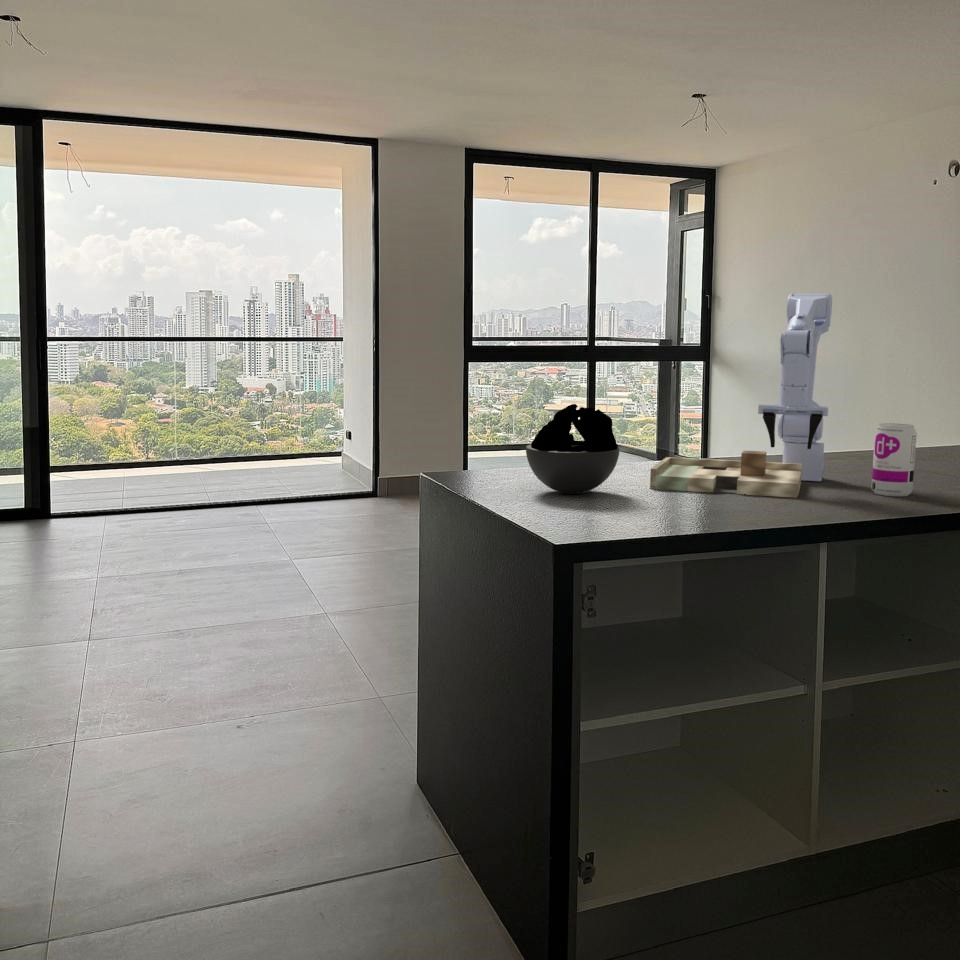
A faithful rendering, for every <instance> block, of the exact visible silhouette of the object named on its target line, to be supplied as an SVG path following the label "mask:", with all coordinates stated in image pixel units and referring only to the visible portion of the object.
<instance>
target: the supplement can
mask: <svg viewBox="0 0 960 960" xmlns="http://www.w3.org/2000/svg"><path fill="white" fill-rule="evenodd" d="M917 437H918V432H917V430H916V429H915V425H914V424H909V423H908V424H907V423H895V422H894V423H891V422H890V423H887V422H886V423H879V424H878V426H877V428H876V430H875V431H874V442H873V444H874V445H873V457H872V460H873V461H872V472H871V473H872V474H871V485H870V486H871V491H873V493H874V494H876V495H879V496H886V497H909V496H910V494H912V493H913V487H914V476H915V462H916V461H915V460H916V448H917V446H916V445H917Z"/></svg>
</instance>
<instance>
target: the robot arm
mask: <svg viewBox="0 0 960 960" xmlns="http://www.w3.org/2000/svg"><path fill="white" fill-rule="evenodd" d="M832 311H833V296H832V294H831V293H830V292H827V293H793V292H791V293H790V294H789V295H788V297H787V302H786V317H787V327H786V330H785V332H781V333H780V337H779V338H780V340H779V354H780V365H781V368H780V370H781V371H780V373H781V374H780V388H779V389H780V392H779V404H758V405H757V406H758V409H757V414H758V415H759V414H760V415H762V419H763V422H764V424H765V426H766V429H767V432H768V436H769V440H770V441H769V442H770V448H775V446H776V445H775V444H776V438H775V437H776V434H775V433H776V418H777V415H779V416H778V420H777V421H778V422H777V436H778V437H779V439H781V440H782V442H783V447H782V463H796V464H802V472H801V481H803V482H804V481H806V482H823V481H822V480H823V475H824V474H825V466H824V455H825V454H824V453H825V452H824V450H825V449H824V448H825V443H824V442H817V441H820V440H821V439H822V438H823V430H824V429H823V427H824V417H828V416H829V406H821V405H820V404H818V402H815V401H814V400H813V398H814V397H813V394H814V386H815V376H816V375H815V374H816V364H817V352H818V345H819V341H820V338H821V336H822V335H823V334H825V333H827V332H829V330H830V329H829V328H830V326H831V318H832Z"/></svg>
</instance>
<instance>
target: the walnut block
mask: <svg viewBox="0 0 960 960" xmlns="http://www.w3.org/2000/svg"><path fill="white" fill-rule="evenodd" d="M740 458H741V459H740V461H741V475H742V476H760V477H764V475H765V471H766V462H767V451H764V450H763V451H759V450H742V452H741V456H740Z"/></svg>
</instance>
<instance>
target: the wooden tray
mask: <svg viewBox="0 0 960 960" xmlns="http://www.w3.org/2000/svg"><path fill="white" fill-rule="evenodd" d="M801 472H802V464H796V463H783V462H772V461H766V471H765V475H764V477H760V476H742V475H741V460H734V459H730V460H729V459H711V458H690V457H673V456H672V457H671V456H670V457H669V456H665V457H664V458H662V460H660V461H659V462H658V463H656V464H655V465H654V466H652V467H651V468H650V477H649V478H650V481H649V483H650V484H649V489H650V490H664V491H678V492H679V491H682V492H695V493H696V492H697V493H711V492H712V493H714V494H715V493H716V494H728V493H729V494H730V495H744V494H746V495H747V496H764V497H765V496H766V497H781V498H794V499H795V498H798V496H799V493H800V488H801V484H802V480H801ZM729 494H728V495H729ZM746 495H745V496H746Z"/></svg>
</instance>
